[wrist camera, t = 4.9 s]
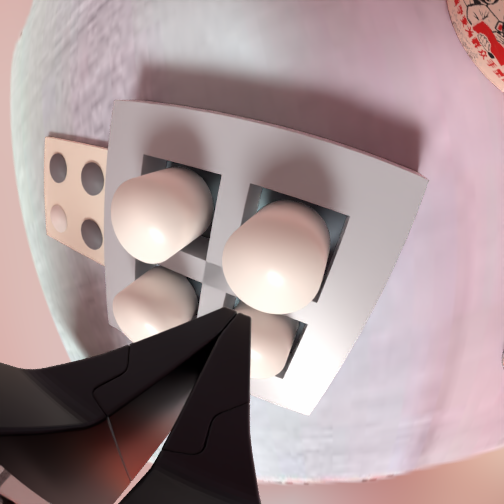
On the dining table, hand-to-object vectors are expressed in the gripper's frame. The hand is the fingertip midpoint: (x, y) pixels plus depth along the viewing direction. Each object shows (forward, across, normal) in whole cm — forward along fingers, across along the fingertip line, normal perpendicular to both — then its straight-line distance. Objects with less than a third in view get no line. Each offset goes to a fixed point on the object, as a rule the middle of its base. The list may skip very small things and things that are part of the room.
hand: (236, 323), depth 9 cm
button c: (+7, 0, 0) cm, 7 cm away
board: (+8, +3, +3) cm, 9 cm away
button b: (+7, +6, +6) cm, 11 cm away
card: (+8, +16, +3) cm, 19 cm away
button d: (+7, +6, 0) cm, 9 cm away
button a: (+8, 0, +6) cm, 10 cm away
